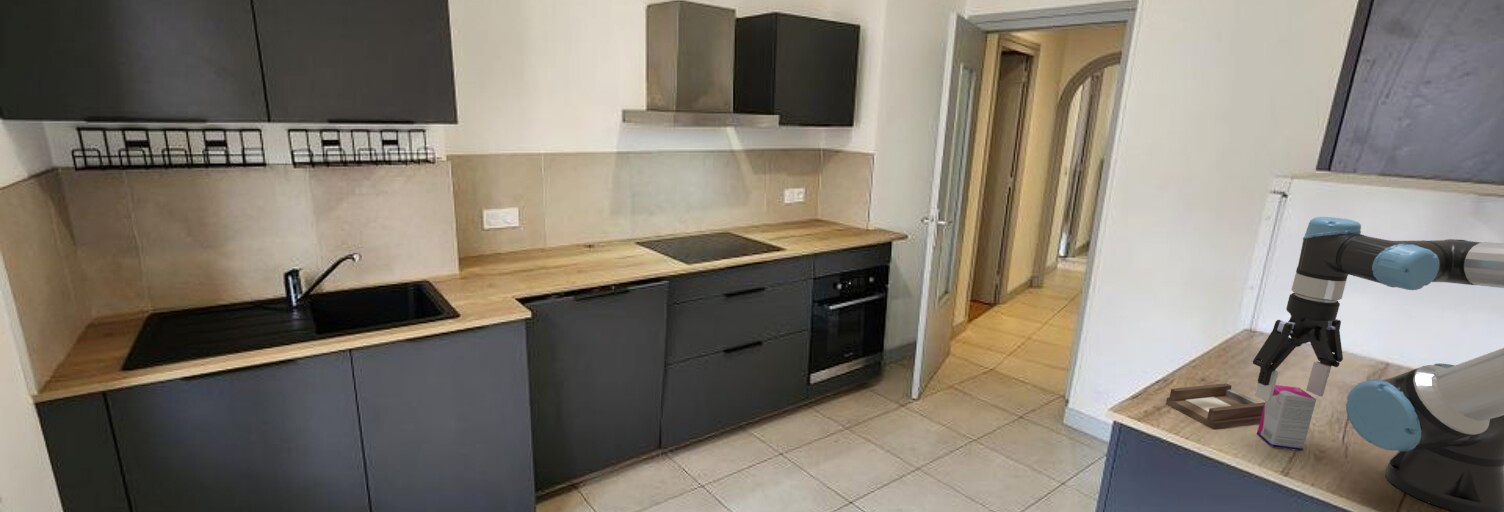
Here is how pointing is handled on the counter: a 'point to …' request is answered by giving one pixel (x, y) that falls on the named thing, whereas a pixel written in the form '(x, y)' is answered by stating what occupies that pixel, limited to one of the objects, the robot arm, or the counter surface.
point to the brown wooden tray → (1216, 406)
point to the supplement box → (1286, 418)
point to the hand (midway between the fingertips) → (1288, 396)
